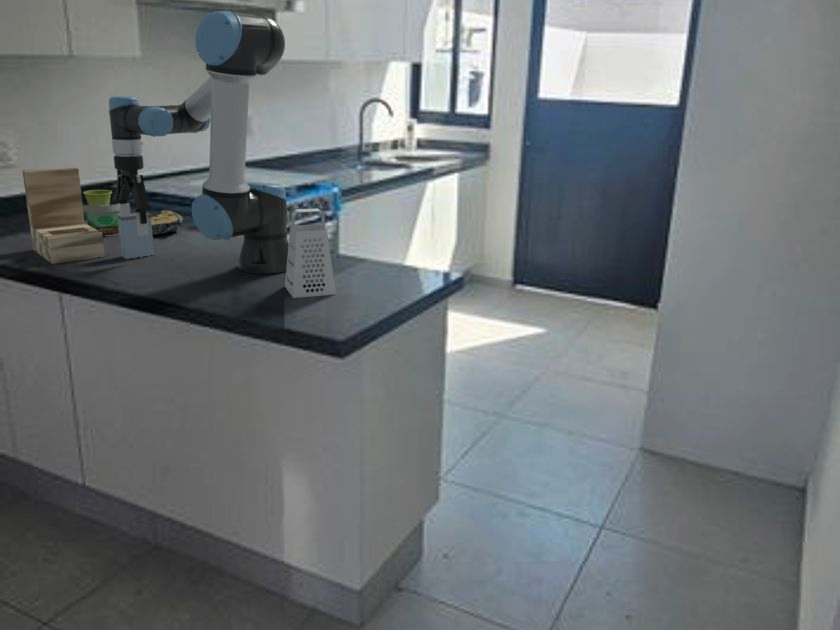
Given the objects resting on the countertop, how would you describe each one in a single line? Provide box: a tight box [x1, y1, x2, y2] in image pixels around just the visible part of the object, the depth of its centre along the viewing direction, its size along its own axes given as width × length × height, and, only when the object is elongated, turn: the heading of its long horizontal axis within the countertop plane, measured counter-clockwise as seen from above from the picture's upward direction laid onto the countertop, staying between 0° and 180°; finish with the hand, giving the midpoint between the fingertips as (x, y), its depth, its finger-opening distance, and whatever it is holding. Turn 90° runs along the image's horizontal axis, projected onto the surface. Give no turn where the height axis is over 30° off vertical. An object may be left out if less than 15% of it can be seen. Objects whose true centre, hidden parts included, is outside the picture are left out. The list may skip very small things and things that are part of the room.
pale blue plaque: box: [117, 212, 155, 260], centre depth 215 cm, size 4×8×12 cm, turn 129°
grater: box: [284, 207, 337, 299], centre depth 185 cm, size 10×10×20 cm
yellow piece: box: [151, 209, 184, 236], centre depth 252 cm, size 14×6×30 cm
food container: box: [83, 202, 120, 236], centre depth 240 cm, size 12×6×10 cm, turn 131°
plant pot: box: [83, 189, 113, 206], centre depth 270 cm, size 9×9×9 cm
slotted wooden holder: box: [21, 166, 106, 265], centre depth 215 cm, size 20×14×23 cm
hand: (134, 230), depth 215 cm, fingers open, 13 cm apart
